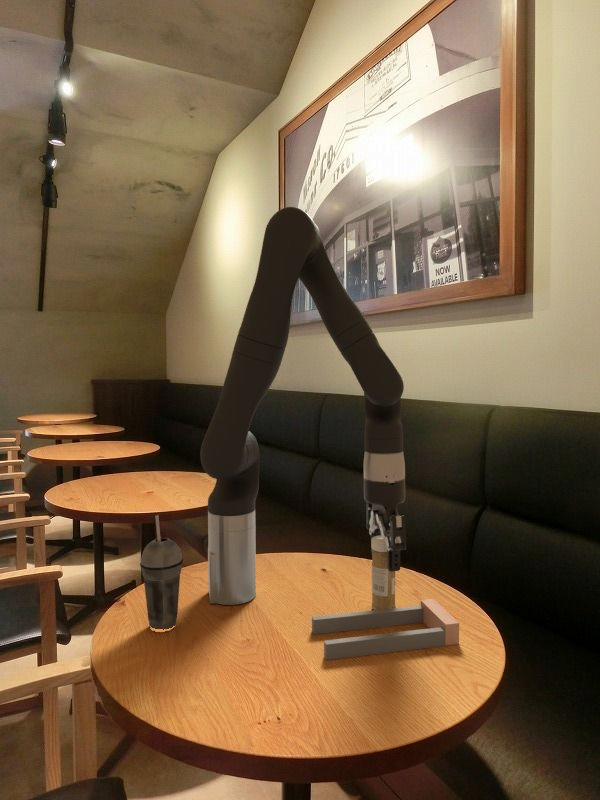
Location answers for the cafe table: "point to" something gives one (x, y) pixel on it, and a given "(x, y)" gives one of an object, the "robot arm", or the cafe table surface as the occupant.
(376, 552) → the sprinkles bottle
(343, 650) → the guide channel
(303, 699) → the cafe table surface
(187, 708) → the cafe table surface
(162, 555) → the beverage cup
